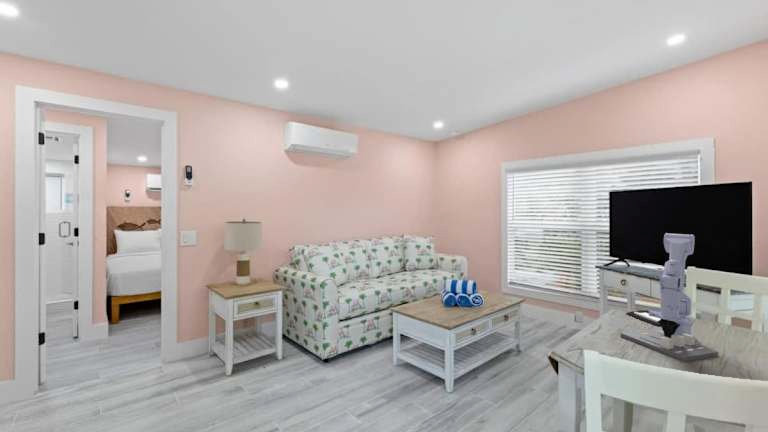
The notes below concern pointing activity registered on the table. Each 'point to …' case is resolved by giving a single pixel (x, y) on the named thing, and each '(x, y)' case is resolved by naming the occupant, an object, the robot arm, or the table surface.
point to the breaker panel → (669, 352)
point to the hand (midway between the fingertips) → (668, 339)
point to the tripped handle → (678, 340)
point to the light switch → (645, 317)
